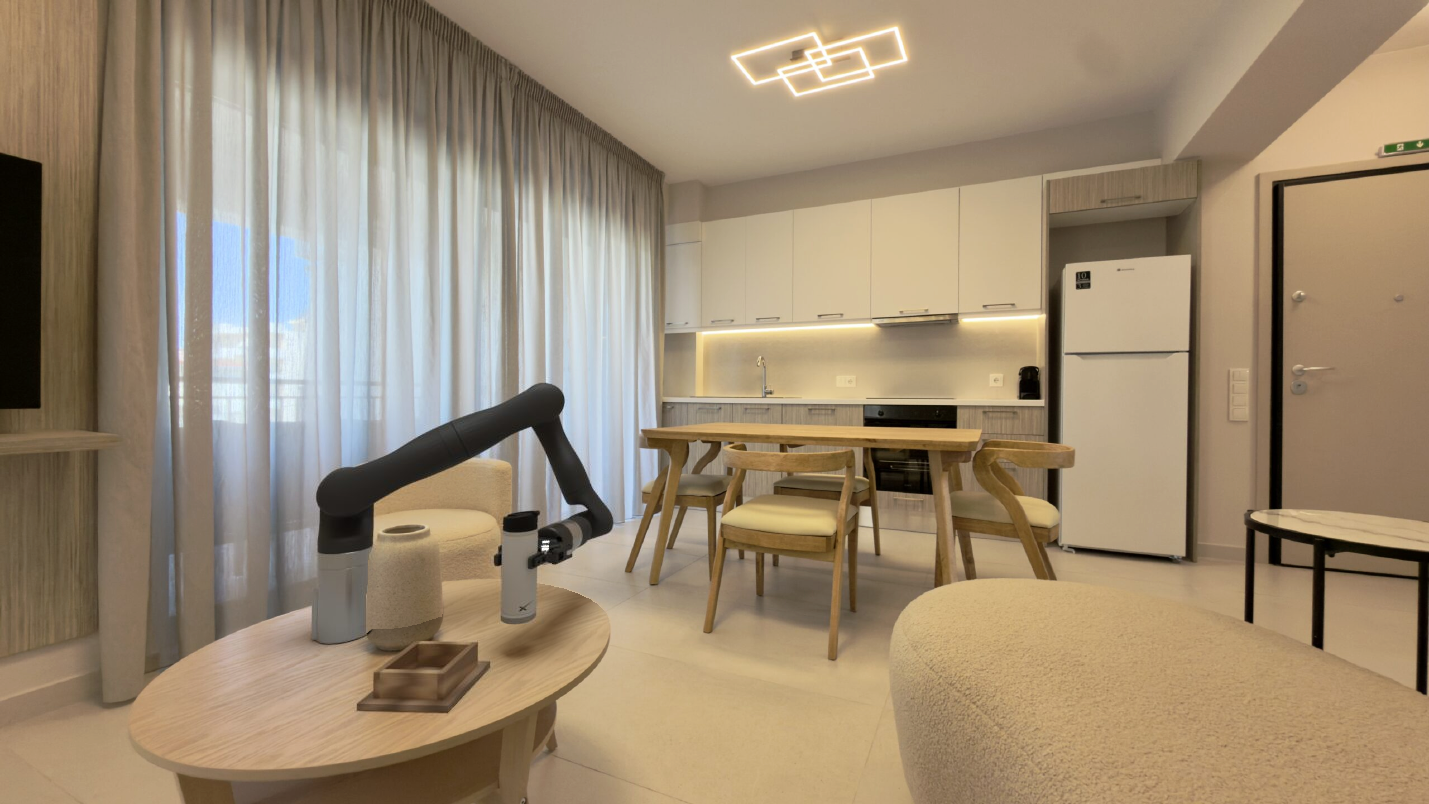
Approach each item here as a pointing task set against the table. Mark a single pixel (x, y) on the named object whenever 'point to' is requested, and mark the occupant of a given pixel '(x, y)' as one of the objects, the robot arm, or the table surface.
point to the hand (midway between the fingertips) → (512, 562)
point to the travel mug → (519, 567)
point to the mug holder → (425, 677)
